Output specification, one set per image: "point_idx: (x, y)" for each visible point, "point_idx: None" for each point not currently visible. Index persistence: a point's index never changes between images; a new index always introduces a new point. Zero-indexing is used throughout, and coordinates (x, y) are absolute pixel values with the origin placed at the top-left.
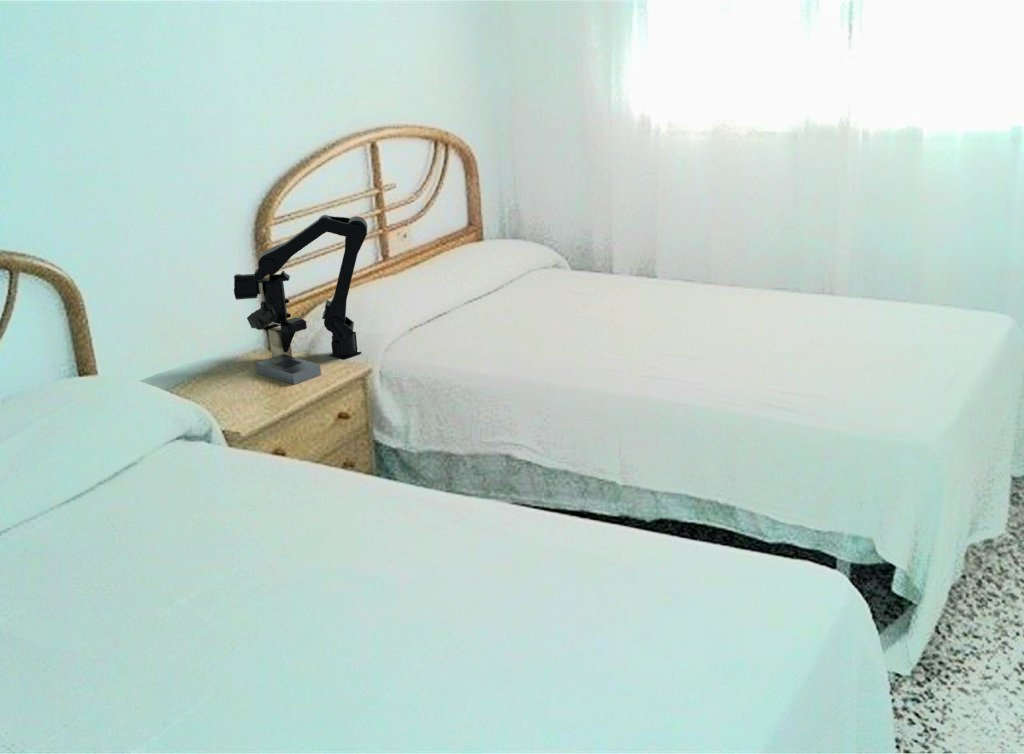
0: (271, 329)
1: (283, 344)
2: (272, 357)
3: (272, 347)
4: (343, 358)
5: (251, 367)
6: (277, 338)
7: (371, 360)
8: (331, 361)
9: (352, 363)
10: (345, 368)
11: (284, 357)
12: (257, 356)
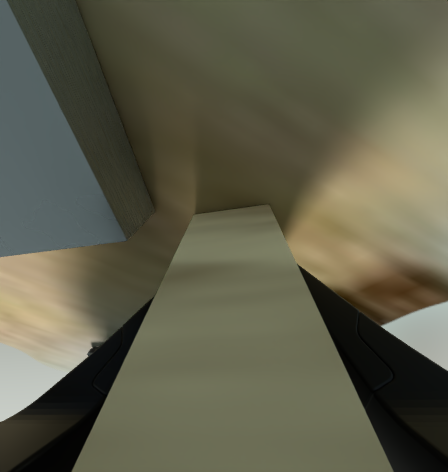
0: None
1: (144, 309)
2: (77, 144)
3: (259, 249)
4: (90, 350)
5: (263, 9)
6: (139, 349)
7: (57, 369)
8: (98, 326)
9: (50, 344)
10: (6, 319)
11: (36, 213)
12: (414, 182)
